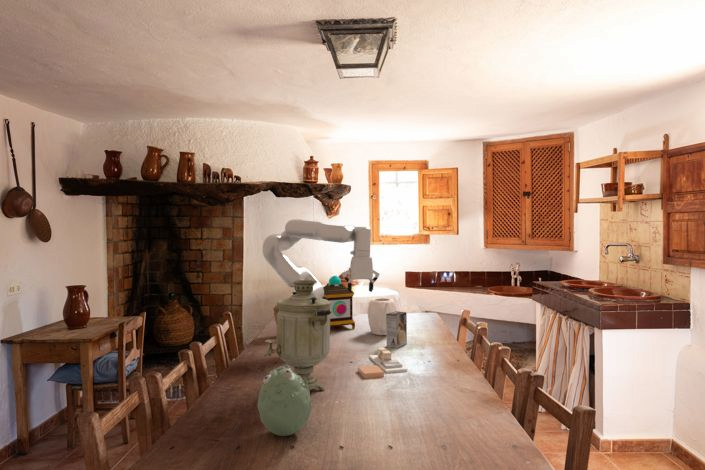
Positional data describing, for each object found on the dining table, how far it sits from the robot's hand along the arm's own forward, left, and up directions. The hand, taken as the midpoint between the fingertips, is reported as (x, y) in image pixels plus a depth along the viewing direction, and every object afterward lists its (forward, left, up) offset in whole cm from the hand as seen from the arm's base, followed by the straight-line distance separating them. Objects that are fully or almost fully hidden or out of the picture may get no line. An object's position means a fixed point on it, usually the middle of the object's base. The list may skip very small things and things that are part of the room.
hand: (360, 291), depth 238 cm
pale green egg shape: (-45, -77, -30) cm, 94 cm away
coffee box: (+22, +13, -30) cm, 39 cm away
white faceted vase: (+23, +38, -30) cm, 54 cm away
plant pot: (-27, +48, -30) cm, 63 cm away
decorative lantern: (+2, +61, -30) cm, 68 cm away
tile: (-4, -23, -29) cm, 37 cm away
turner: (+7, -17, -28) cm, 34 cm away
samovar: (-36, -40, -30) cm, 61 cm away
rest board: (+7, -17, -29) cm, 35 cm away
